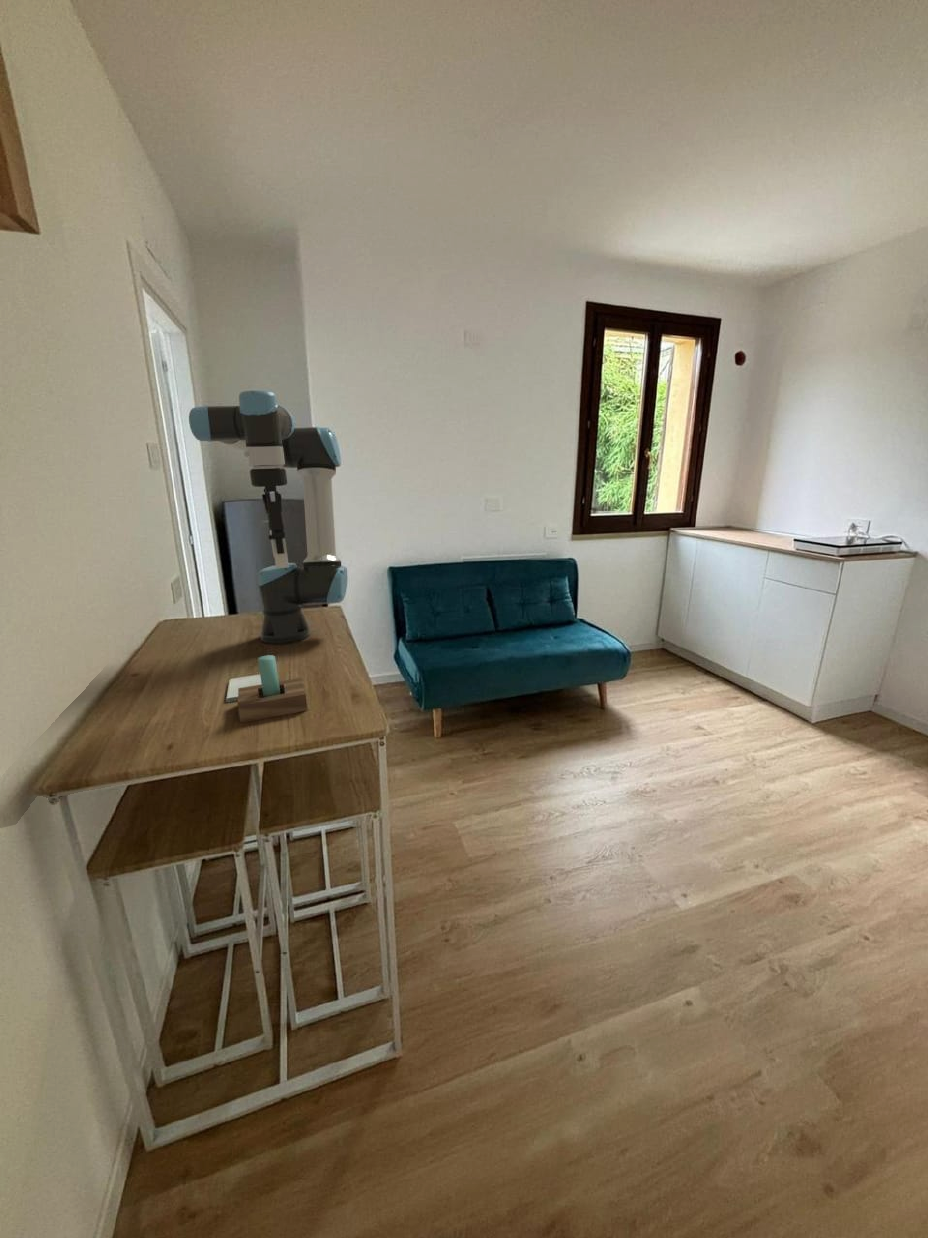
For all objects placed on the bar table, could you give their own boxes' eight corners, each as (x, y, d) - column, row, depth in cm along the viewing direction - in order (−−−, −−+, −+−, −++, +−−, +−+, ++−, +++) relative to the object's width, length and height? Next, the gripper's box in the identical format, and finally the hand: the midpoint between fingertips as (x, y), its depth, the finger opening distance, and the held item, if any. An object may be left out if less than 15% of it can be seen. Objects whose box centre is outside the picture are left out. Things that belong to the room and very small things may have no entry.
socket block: (241, 703, 119) (238, 688, 118) (303, 692, 124) (301, 677, 123) (240, 723, 110) (237, 706, 109) (307, 710, 115) (305, 693, 114)
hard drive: (263, 692, 122) (263, 673, 133) (225, 698, 120) (228, 678, 131) (264, 698, 123) (263, 679, 134) (226, 705, 120) (229, 684, 131)
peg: (265, 705, 118) (257, 656, 115) (281, 702, 119) (274, 654, 116) (265, 711, 115) (257, 662, 111) (282, 708, 116) (275, 659, 113)
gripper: (249, 466, 123) (262, 553, 129) (249, 469, 101) (265, 574, 107) (282, 465, 125) (293, 551, 132) (289, 468, 103) (302, 571, 110)
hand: (280, 561), depth 120 cm, fingers open, 13 cm apart
